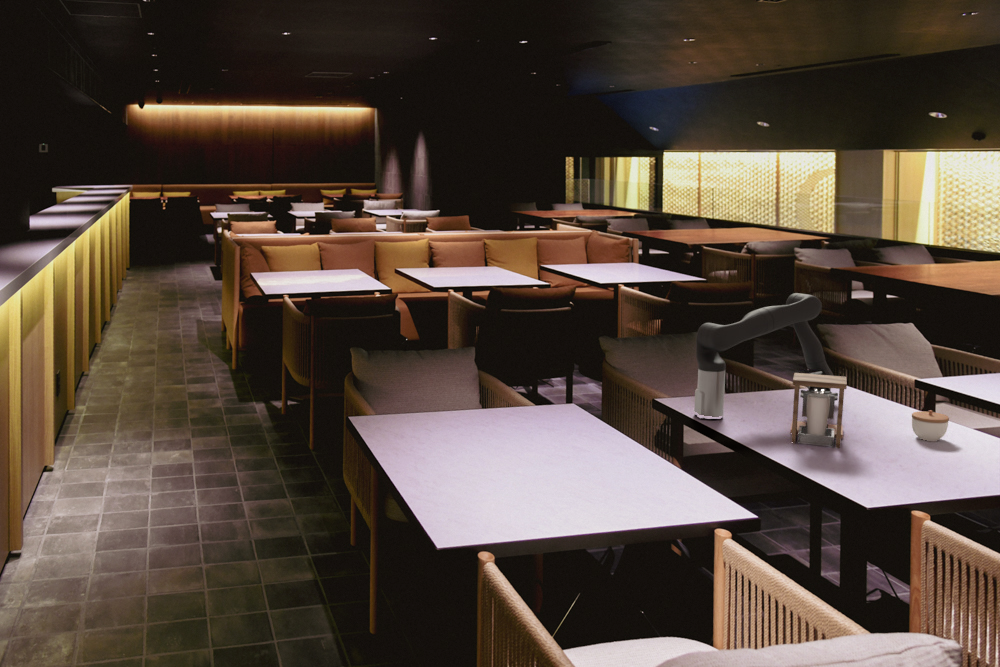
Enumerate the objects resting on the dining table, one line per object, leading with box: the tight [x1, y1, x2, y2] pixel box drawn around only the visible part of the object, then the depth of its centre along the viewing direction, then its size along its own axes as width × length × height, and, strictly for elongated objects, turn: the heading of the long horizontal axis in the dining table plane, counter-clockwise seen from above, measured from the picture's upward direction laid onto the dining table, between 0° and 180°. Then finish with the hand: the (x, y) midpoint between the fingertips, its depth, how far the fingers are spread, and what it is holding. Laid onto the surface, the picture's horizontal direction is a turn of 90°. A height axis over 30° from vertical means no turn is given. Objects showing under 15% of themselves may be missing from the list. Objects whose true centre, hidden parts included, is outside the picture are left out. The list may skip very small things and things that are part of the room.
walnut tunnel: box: [790, 372, 848, 449], centre depth 272 cm, size 12×16×21 cm
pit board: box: [789, 420, 844, 440], centre depth 285 cm, size 12×16×2 cm
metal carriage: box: [797, 393, 836, 448], centre depth 280 cm, size 26×11×11 cm, turn 159°
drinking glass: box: [806, 393, 830, 436], centre depth 273 cm, size 7×7×15 cm
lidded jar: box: [911, 409, 950, 442], centre depth 277 cm, size 11×11×9 cm
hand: (818, 400), depth 294 cm, fingers closed
